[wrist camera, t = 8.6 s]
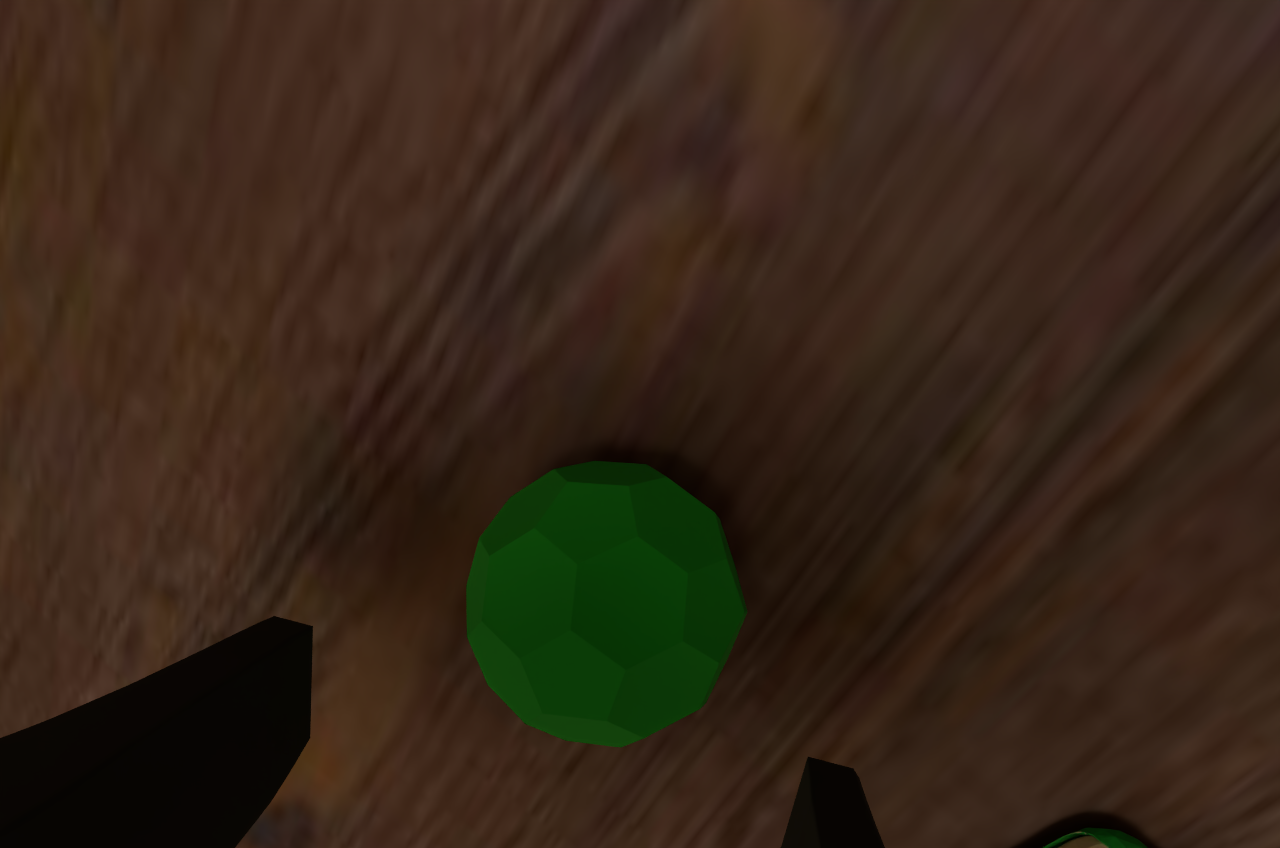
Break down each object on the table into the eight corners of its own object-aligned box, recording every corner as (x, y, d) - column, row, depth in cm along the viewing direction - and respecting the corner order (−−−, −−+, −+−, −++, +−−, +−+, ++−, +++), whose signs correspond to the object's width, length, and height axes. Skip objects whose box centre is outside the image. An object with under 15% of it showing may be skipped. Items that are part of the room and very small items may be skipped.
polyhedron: (782, 620, 18) (769, 787, 14) (565, 659, 20) (490, 823, 15) (711, 396, 17) (672, 503, 12) (483, 455, 18) (375, 570, 14)
